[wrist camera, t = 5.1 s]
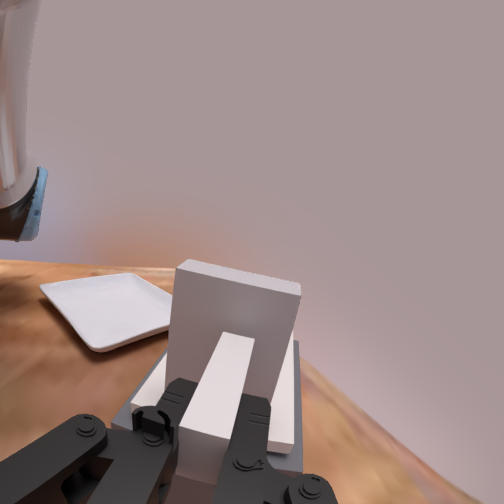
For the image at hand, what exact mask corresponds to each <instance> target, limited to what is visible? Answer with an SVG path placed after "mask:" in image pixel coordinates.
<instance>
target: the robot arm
mask: <svg viewBox="0 0 504 504" xmlns="http://www.w3.org/2000/svg"><path fill="white" fill-rule="evenodd" d="M40 4H41V0H0V240H11V241H15V242H19V241H32V240H34V239H35V238H36V237H37V235H38V230H39V223H40V216H41V210H42V204H43V198H44V192H45V186H46V181H47V176H48V172H47V170H46V169H43V168H41V167H37V165H36V160H35V157H34V155H33V154H32V153H31V151H30V150H29V149H27V148H26V107H27V89H28V77H29V67H30V58H31V52H32V44H33V39H34V33H35V28H36V22H37V18H38V13H39V9H40ZM254 340H255V339H253V338H248V337H244V336H240V335H235V334H231V333H227V332H223V333H222V335H221V337H220V340H219V342H218V344H217V346H216V348H215V350H214V352H213V355H212V357H211V359H210V361H209V363H208V365H207V367H206V369H205V372H204V374H203V376H202V378H201V380H200V382H199V383H197V382H193V381H190V380H186V379H183V378H180V377H179V378H177V379H175V380H174V381H172V382H170V383H169V385H168V386H167V388H166V389H165V392H164V393H163V394H162V396H161V398H160V399H159V401H158V402H157V404H156V406H152V405H151V406H142V407H139V408H136V409H135V410H134V411H133V412H132V427H133V430H128V431H125V430H115V429H109V428H106V427H105V424H104V423H103V422H102V421H101V420H100V419H99V418H97V417H95V416H93V415H89V414H79V415H76V416H74V417H71V418H70V419H68V420H67V421H65V422H64V423H62V424H61V425H59V426H57V427H56V428H54V429H53V430H51V431H50V432H48V433H46V434H45V435H43V436H42V437H40V438H39V439H37V440H35V441H34V442H32V443H31V444H29V445H27V446H26V447H24V448H22V449H21V450H19V451H18V452H16V453H14V454H13V455H11V456H9V457H8V458H6V459H4V460H3V461H1V462H0V504H164V502H165V500H166V498H167V495H168V493H169V490H170V488H171V484H172V477H173V474H174V472H175V470H176V475H180V476H183V477H186V478H190V479H193V480H197V481H201V482H204V483H208V484H212V485H216V487H215V491H214V494H213V498H212V501H211V504H338V502H337V499H336V497H335V494H334V492H333V489H332V487H331V485H330V484H329V483H328V481H326V480H325V479H324V478H322V477H320V476H317V475H315V474H302V475H298V476H296V477H295V478H293V477H290V476H288V475H285V474H283V473H281V472H279V471H277V470H276V469H274V468H273V467H272V466H271V465H270V463H269V462H268V459H267V444H268V436H269V425H270V417H271V405H270V403H269V401H268V399H267V398H263V397H258V396H253V395H249V394H244V393H242V391H243V387H244V383H245V379H246V374H247V370H248V366H249V362H250V357H251V353H252V349H253V344H254Z"/></svg>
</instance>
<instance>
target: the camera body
mask: <svg viewBox="0 0 504 504" xmlns="http://www.w3.org/2000/svg"><path fill="white" fill-rule="evenodd" d="M166 353H167V348H166V349H165V351H164V352H163V353H162V355H161V356H160V357H159V359H158V360H157V361H156V363H155V364H154V365H153V367H152V368H151V369H150V371H149V372H148V373H147V374H146V376H145V377H144V378H143V380H142V381H141V382H140V384H139V385H138V386H137V388H136V389H135V390H134V392H133V393H132V394H131V396H130V397H129V398H128V400H127V401H126V402H125V404H124V405H123V406H122V408H121V409H120V411H119V412H118V413H117V415H116V416H115V417H114V419H113V420H112V421H111V427H112V429H115V430H125V431H128V430H133V427H132V414H131V403H130V402H131V401H132V400H133V398H134V397H135V395H136V394H137V393H138V391H139V390H140V389H141V387H142V386H143V384H144V383H145V382H146V380H147V379H148V378H149V376H150V375H151V374H152V372H153V371H154V369H155V368H156V367H157V365H158V364H159V363H160V361H161V360H162V358H163V357H164V356H165V354H166ZM293 356H294V445H293V447H292V450H291V452H290V454H285V453H278V452H272V451H267V459H268V462H269V463H270V465H271V466H272V467H273V468H274V469H276V470H277V471H279V472H281V473H283V474H285V475H288V476H290V477H293V478H295V477H296V476H298V475H302V473H303V438H302V405H301V381H300V360H299V343H298V341H296V340H293ZM215 487H216V485H212V484H208V483H204V482H201V481H197V480H193V479H190V478H186V477H183V476H180V475H176V470H175V472H174V474H173V477H172V484H171V488H170V490H169V493H168V495H167V498H166V500H165V502H164V504H211V501H212V498H213V494H214V491H215Z"/></svg>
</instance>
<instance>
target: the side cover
mask: <svg viewBox="0 0 504 504" xmlns="http://www.w3.org/2000/svg"><path fill="white" fill-rule="evenodd" d="M300 299H301V288H300V283H296V282H291V281H287V280H282V279H277V278H272V277H268V276H263V275H259V274H254V273H249V272H244V271H240V270H235V269H231V268H227V267H222V266H218V265H213V264H209V263H204V262H200V261H196V260H191V259H188V260H186V261H185V262H184V263H182V264H181V265H179V266H178V267H177V268H176V272H175V280H174V288H173V296H172V305H171V315H170V325H169V335H168V347H167V353H166V354H165V356H164V357H163V358H162V360H161V361H160V363H159V364H158V365H157V367H156V368H155V369H154V371H153V372H152V374H151V375H150V376H149V378H148V379H147V380H146V382H145V383H144V384H143V386H142V387H141V389H140V390H139V391H138V393H137V394H136V395H135V397H134V398H133V400H132V401H131V402H130V403H131V414H132V412H133V411H134V410H135V409H136V408H139V407H142V406H151V405H152V406H156V404H157V402H158V401H159V399H160V398H161V396H162V394H163V393H164V392H165V389H166V388H167V386H168V385H169V383H170V382H172V381H174V380H175V379H177V378H179V377H180V378H183V379H186V380H190V381H193V382H197V383H199V382H200V380H201V378H202V376H203V374H204V372H205V369H206V367H207V365H208V363H209V361H210V359H211V357H212V355H213V352H214V350H215V348H216V346H217V344H218V342H219V340H220V337H221V335H222V333H223V332H227V333H231V334H235V335H240V336H244V337H248V338H253V339H255V340H254V344H253V349H252V353H251V357H250V362H249V366H248V370H247V374H246V379H245V383H244V387H243V391H242V393H244V394H249V395H253V396H258V397H263V398H267V399H268V401H269V403H270V405H271V417H270V425H269V436H268V444H267V451H272V452H278V453H285V454H290V452H291V450H292V447H293V445H294V356H293V331H292V330H293V326H294V322H295V318H296V315H297V311H298V307H299V304H300Z"/></svg>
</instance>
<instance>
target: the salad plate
mask: <svg viewBox="0 0 504 504" xmlns="http://www.w3.org/2000/svg"><path fill="white" fill-rule="evenodd" d="M39 288H40V290H41V291H42V293H43V294H44V296H45V297H46V298H47V299H48V300H49V301H50V302H51V303H52V304H53V305H54V307H55V308H56V309H57V310H58V311H59V312H60V313H61V314H62V315H63V317H64V318H65V319H66V320H67V321H68V322H69V323H70V325H71V326H72V327H73V328H74V329H75V331H76V332H77V333H78V335H79V336H80V337H81V338H82V340H83V341H84V342H85V343H86V345H87V346H88V347H89V348H90V349H91V350H93V351H96V352H107V351H110V350H113V349H115V348H118V347H121V346H123V345H126V344H129V343H132V342H135V341H137V340H140V339H143V338H146V337H149V336H152V335H155V334H158V333H161V332H164V331H167V330H169V325H170V315H171V305H172V295H171V294H169V293H167V292H165V291H164V290H162V289H160V288H158V287H156V286H155V285H153V284H151V283H149V282H147V281H146V280H144V279H142V278H140V277H139V276H137V275H135V274H133V273H121V274H113V275H104V276H96V277H89V278H81V279H74V280H68V281H61V282H55V283H48V284H41V285H40V286H39Z"/></svg>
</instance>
